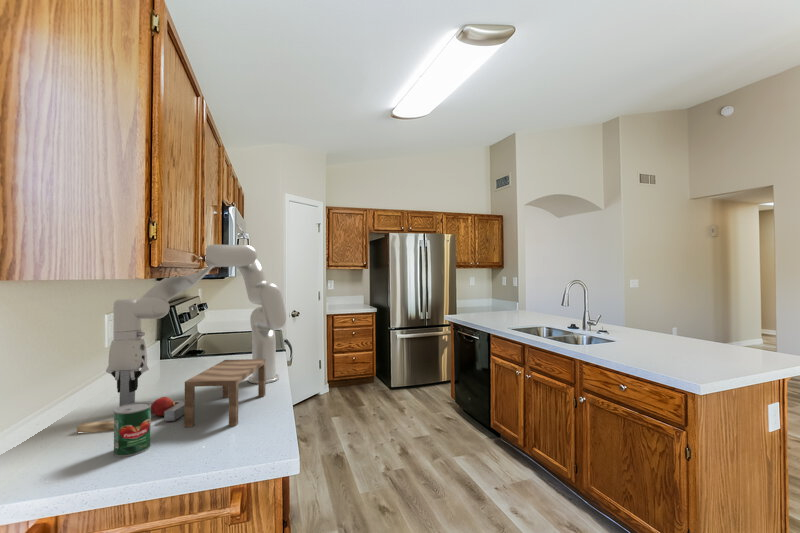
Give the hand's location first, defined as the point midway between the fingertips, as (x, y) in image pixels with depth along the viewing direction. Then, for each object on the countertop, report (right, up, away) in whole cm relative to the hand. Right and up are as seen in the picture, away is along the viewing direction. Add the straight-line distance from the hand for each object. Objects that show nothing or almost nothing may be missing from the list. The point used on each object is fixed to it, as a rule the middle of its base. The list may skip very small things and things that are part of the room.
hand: (127, 390), depth 125 cm
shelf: (+33, -7, +2) cm, 34 cm away
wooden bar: (+4, -7, -14) cm, 16 cm away
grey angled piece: (+10, -7, -4) cm, 13 cm away
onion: (+18, -3, -3) cm, 18 cm away
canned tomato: (+21, -7, -27) cm, 35 cm away
